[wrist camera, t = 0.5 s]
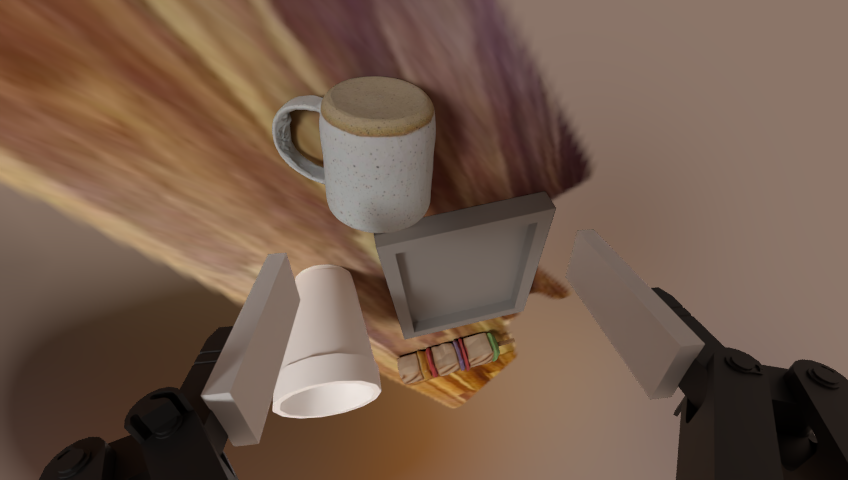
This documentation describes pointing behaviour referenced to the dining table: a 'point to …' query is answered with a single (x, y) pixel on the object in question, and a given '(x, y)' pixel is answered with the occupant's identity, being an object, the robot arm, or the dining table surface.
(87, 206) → the dining table surface
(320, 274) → the foam cup
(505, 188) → the dining table surface
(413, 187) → the ceramic mug
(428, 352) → the skewer
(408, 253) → the cafeteria tray
